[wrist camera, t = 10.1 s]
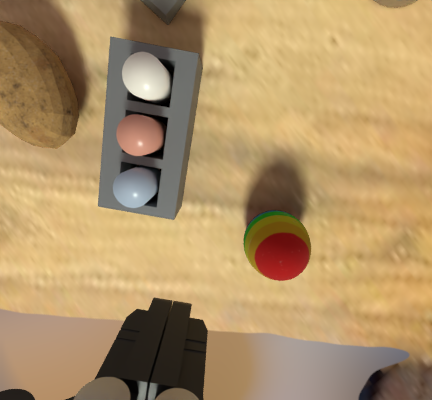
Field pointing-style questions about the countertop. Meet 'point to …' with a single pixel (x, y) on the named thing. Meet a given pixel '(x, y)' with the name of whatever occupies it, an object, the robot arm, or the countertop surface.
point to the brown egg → (141, 134)
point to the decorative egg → (277, 245)
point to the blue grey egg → (137, 186)
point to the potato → (34, 90)
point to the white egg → (147, 78)
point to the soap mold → (164, 8)
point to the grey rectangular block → (177, 115)
